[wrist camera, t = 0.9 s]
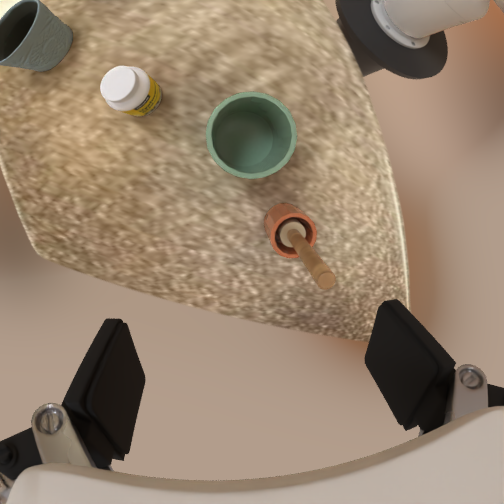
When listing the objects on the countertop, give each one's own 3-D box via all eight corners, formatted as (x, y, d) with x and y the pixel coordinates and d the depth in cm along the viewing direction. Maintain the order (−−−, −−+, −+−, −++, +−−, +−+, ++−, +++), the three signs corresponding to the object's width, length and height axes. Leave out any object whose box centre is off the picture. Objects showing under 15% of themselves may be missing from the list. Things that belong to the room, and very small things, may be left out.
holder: (285, 194, 36) (296, 203, 31) (311, 222, 38) (325, 236, 32) (255, 222, 37) (260, 236, 32) (282, 249, 39) (291, 266, 34)
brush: (285, 207, 36) (330, 255, 21) (300, 223, 37) (351, 279, 22) (268, 223, 37) (300, 282, 21) (283, 239, 38) (323, 305, 22)
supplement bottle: (152, 122, 31) (126, 114, 22) (118, 110, 30) (85, 101, 21) (169, 85, 29) (150, 65, 20) (135, 75, 28) (107, 55, 19)
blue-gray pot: (31, 40, 21) (-10, 25, 10) (78, 11, 21) (42, -17, 10) (31, 86, 25) (-17, 79, 14) (80, 57, 25) (36, 35, 14)
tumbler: (245, 96, 31) (253, 75, 21) (288, 140, 34) (314, 138, 23) (199, 139, 32) (187, 135, 22) (243, 182, 35) (250, 196, 25)
